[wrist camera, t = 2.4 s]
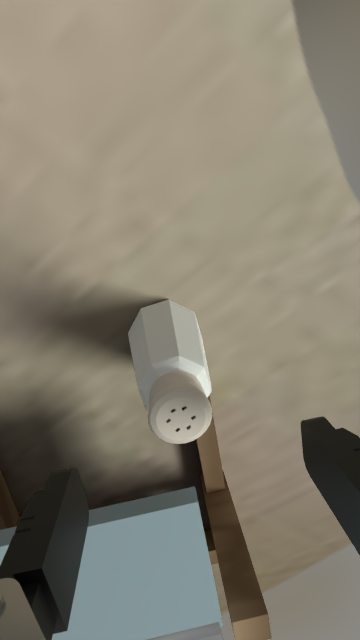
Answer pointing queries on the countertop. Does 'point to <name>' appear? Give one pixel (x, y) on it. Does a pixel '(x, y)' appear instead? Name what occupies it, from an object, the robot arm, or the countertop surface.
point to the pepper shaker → (171, 371)
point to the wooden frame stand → (209, 542)
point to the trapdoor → (143, 573)
